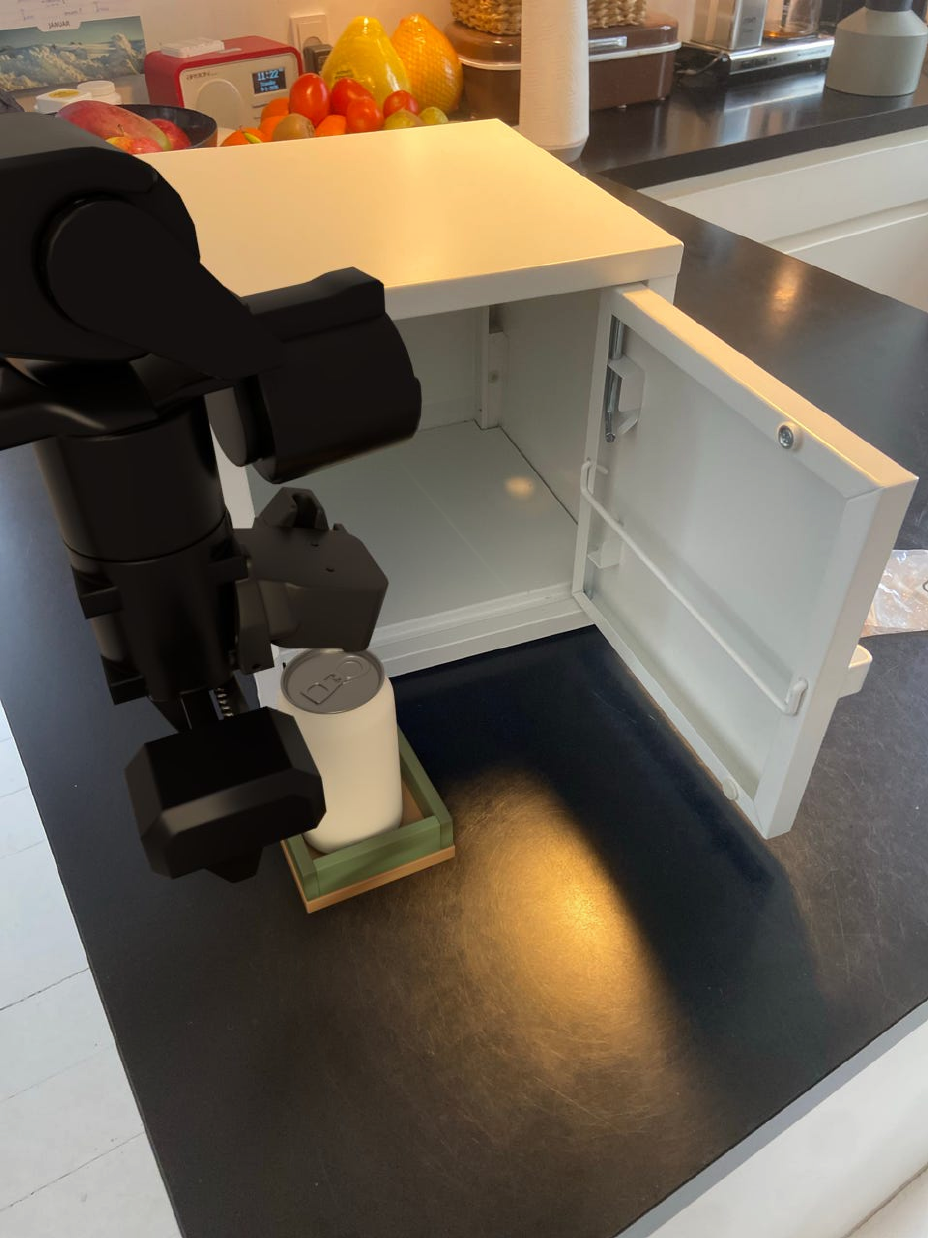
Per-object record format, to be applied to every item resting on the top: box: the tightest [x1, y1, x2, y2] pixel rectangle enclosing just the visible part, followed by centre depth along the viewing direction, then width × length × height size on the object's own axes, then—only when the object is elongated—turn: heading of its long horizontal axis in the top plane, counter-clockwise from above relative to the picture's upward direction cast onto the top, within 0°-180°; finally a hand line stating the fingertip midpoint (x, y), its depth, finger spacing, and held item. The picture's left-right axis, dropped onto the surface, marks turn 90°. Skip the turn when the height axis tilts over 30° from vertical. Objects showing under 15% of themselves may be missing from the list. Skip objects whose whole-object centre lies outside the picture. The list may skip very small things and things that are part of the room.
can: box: [276, 648, 403, 854], centre depth 53 cm, size 6×6×12 cm
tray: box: [279, 721, 456, 914], centre depth 56 cm, size 9×9×4 cm
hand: (218, 801), depth 43 cm, fingers open, 9 cm apart
